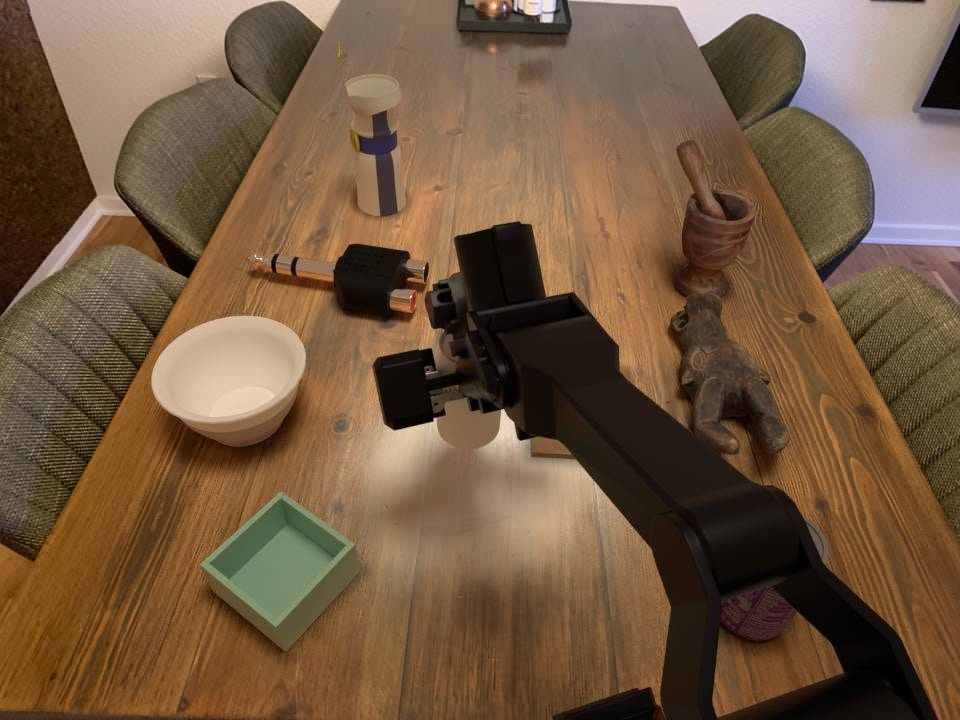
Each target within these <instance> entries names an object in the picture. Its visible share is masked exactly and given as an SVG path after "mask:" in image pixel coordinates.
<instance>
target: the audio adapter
mask: <svg viewBox="0 0 960 720" xmlns="http://www.w3.org/2000/svg"><path fill="white" fill-rule="evenodd" d="M245 261H246V262H247V263H248V264H249V265H250V266H251V267H252V268H253V269H254V270H255V271H260V270H261V269H262V268H263V267H264V268H266V270H267V271H268V272H269V273H270V274H271V273H272V274H279V275H284V276H290V277H298V278H302V279H304V278H305V279H309V280H316V281H321V282H327V283H333V288H334V290H335V293H336V301H337V304H338V305H339V306H340V308H341V309H346V310H352V311H358V312H364V313H371V314H375V315H381V316H387V317H390V316H392V315H393V314H394V312H401V313H407V314H413V313H414V311H415V309H416V306H417V298H418V297H417V296H418V294H417V290H416V289H412V288H411V289H410V288H406V286H407V284H408V282H409V283H410V282H411V283H417V284H423V285H425V284H426V283H427V281H428V279H429V274H430V262H429V261H427V260H421V259H414V258H411V254H410V251H408V250H403V249H396V248H389V247H385V246H384V247H383V246H377V245H371V244H364V243H349V244H348V245H347V247H346V249H345V251H343V254H342V255H341V256H339V257H338V259H337V260H336V262H333V261H328V260H322V259H314V258H309V257H302V256H301V257H300V256H297V255H296V256H295V255H289V254H282V253H276V252H270V253H269V254H267V256H266V255H264V253H263V251H262V250H256V251H255V252H253V253H251V254H249V255H247V256H245Z"/></svg>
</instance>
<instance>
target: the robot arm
mask: <svg viewBox="0 0 960 720" xmlns="http://www.w3.org/2000/svg"><path fill="white" fill-rule="evenodd" d="M453 242H454V243H453V244H454V247H455V253H456V257H457V263H458V268H459V271H458V272H454V273H452V274H451V275H450V276H449V277H448V278H444V279H438V281H437V282H436V283H432V290H428V291H426V292H425V294H424V306H425V309H426V312H427V317H428V321H429V324H430V327H431V328H432V330H439V329H442V330H443V331H445V334H446V335H448V334H452V337H453V341H450V342H449V345H450V350H451V355H452V357H455V356H458V359H457V364H456V373H451V374H447V375H442V376H439V372H438V371H437V370H436V365H435V354H434V350H433V348H432V347H427V348H422V349H419V348H416V349H411V350H406V351H402V352H397V353H392V354H388V355H382V356H378V357H376V358H375V360H374V361H373V363H372V364H371V369H372V373H373V378H374V383H375V387H376V388H375V389H376V392H377V397H378V402H379V406H380V407H379V408H380V411H381V417H382V421H383V425H385V426H386V427H388V428H389V429H391V430H392V431H394V432H395V431H399V430H404V429H408V428H413V427H417V426H421V425H425V424H430V423H434V422H435V419H437V417H441V416H446V413H445V408H444V404H445V403H446V402H449V401H454V400H458V399H463V398H466V399H467V403H468V408H469V411H471V412H472V411H477V410H480V412H481V413H482V414H485V413H489V412H494V411H498V410H501V411H504V412H505V414H506V416H507V417H508V419H510V420H511V421H512V422H513V424H514V429H515V434H516V435H515V436H516V438H517V440H518V441H520V442H522V441H527V440H531V438H536V437H543V438H548V439H553V440H558V441H560V442H561V443H562V444H563V445H564V446H565V447H566V448H567V449H568V451H569V452H570V453H571V454H572V455H573V456H574V458H575V459H574V460H576V462H578V464H579V465H580V466H581V468H582V469H583V470H584V471H585V472H586V473H587V474H588V476H589V478H591V479H592V481H593V482H594V483H595V484H596V485H597V486H598V488H599V489H600V490H601V491H602V493H603V494H604V495H605V496H606V497H607V498H608V500H609V501H610V502H611V503H612V504H613V506H614V507H615V508H616V509H617V510H618V511H619V512H620V514H621V515H622V516H623V517H624V518H625V520H626V521H627V522H628V524H629V525H630V526H631V527H632V528H633V529H634V531H635V532H636V533H637V534H638V535H639V537H640V538H641V539H642V540H643V541H644V542H645V544H646V545H647V546H648V547H649V549H650V550H651V552H652V556H653V560H654V563H655V566H656V569H657V572H658V575H659V578H660V580H661V583H662V586H663V590H664V592H665V595H666V597H667V600H668V603H669V606H670V612H669V620H668V628H667V634H666V635H667V636H666V643H665V651H664V657H663V658H664V659H663V667H662V672H661V673H662V674H661V680H660V681H661V682H660V688H659V689H660V690H659V698H660V705H659V704H657V703H656V698H655V695H654V692H653V688H652V687H651V686H648V687H645V688H641V689H640V688H638V687H634V688H631V689H628V690H624V691H622V692H619V693H616V694H614V695H610V696H607V697H604V698H601V699H598V700H595V701H592V702H588V703H586V704H583V705H580V706H576V707H573V708H571V709H567V710H565V711H562V712H559V713H555V714H553V715H552V716H551V717H552V720H939V718H938V717H937V714H936V712H935V710H934V707H933V705H932V704H931V701H930V698H929V697H928V695H927V692H926V690H925V688H924V686H923V684H922V681H921V679H920V676H919V675H918V673H917V670H916V668H915V666H914V664H913V662H912V660H911V658H910V654H909V652H908V650H907V648H906V646H905V645H904V642H903V639H902V638H901V637H900V635H899V634H898V633H897V631H896V630H895V628H893V626H892V625H890V624H889V623H888V622H887V621H886V620H885V619H884V618H883V617H881V615H879V614H878V613H877V612H876V611H875V610H874V609H873V608H872V607H870V605H868V603H867V602H865V601H864V600H863V599H862V598H861V597H860V596H859V595H858V594H856V592H855V591H854V590H852V589H851V588H850V587H849V586H848V585H846V583H845V582H844V581H843V580H842V579H840V578H839V577H838V576H837V575H836V574H835V573H833V571H832V570H830V569H829V568H828V567H827V566H825V565H824V563H823V561H822V559H821V557H820V554H819V552H818V550H817V548H816V545H815V543H814V541H813V538H812V536H811V534H810V531H809V529H808V527H807V525H806V522H805V520H804V518H803V516H804V515H803V514H802V513H801V511H800V509H799V508H798V507H799V506H797V504H796V502H795V501H794V500H793V499H792V498H791V497H790V496H789V495H788V494H787V492H785V490H783V489H781V488H780V487H777V486H776V485H773V484H761V483H757V482H755V481H753V480H751V479H750V478H748V477H747V476H746V475H745V474H744V473H742V472H741V471H740V470H738V468H736V467H735V466H734V465H733V464H731V463H730V462H728V460H727V459H725V458H724V457H723V456H721V455H720V453H718V452H715V451H714V450H713V449H711V448H710V447H709V446H708V445H707V444H705V443H704V442H703V441H702V440H700V439H699V438H698V437H697V436H696V435H695V433H693V432H692V431H691V430H690V429H688V428H687V427H686V426H685V425H684V424H682V423H681V422H680V421H678V420H677V419H676V418H675V417H673V415H672V414H670V413H668V411H667V410H665V409H664V408H663V407H661V406H660V405H659V404H658V403H657V402H656V401H654V400H653V399H651V398H650V397H649V396H648V395H646V393H644V392H643V391H642V390H641V389H640V388H638V387H637V386H636V385H635V384H633V382H631V381H630V382H629V381H628V380H627V379H626V378H625V376H624V375H623V374H622V373H621V372H620V367H621V366H620V363H621V362H620V345H619V344H618V342H616V341H615V339H613V337H612V336H611V335H610V334H609V333H608V332H607V331H606V330H605V328H604V327H603V326H602V325H601V323H600V322H599V321H598V320H597V319H596V316H594V315H593V314H592V312H591V311H590V310H589V309H588V307H587V306H586V305H585V304H584V303H583V301H582V300H581V299H580V297H578V295H577V294H576V293H575V292H574V291H569V292H565V293H559V294H554V295H549V296H547V294H546V289H545V284H544V279H543V275H542V269H541V264H540V257H539V254H538V249H537V243H536V238H535V234H534V229H533V224H532V223H522V222H521V220H518V221H511V222H505V223H498V224H493V225H492V226H491V227H488V228H484V229H480V230H477V231H473V232H471V233H469V232H468V233H463V234H459V235H456V236H454V238H453ZM455 385H458V386H459V387H458V391H457V389H456V388H454V391H452V389H449V393H448V391H447V390H445V393H443V391H442V388H446V387H450V386H455ZM802 515H803V516H802ZM770 586H771V587H772V588H773V589H774V590H775V591H776V592H777V593H778V594H780V595H781V596H782V597H783V598H784V599H785V600H786V601H787V602H788V603H789V604H790V605H791V606H792V607H793V608H794V609H795V610H796V611H798V612H797V613H798V614H800V615H801V617H802V618H804V619H805V620H806V621H807V622H808V623H809V624H810V625H811V626H812V627H813V628H814V629H816V631H818V632H819V634H821V635H822V636H823V637H824V638H825V639H826V640H827V641H828V642H829V643H830V644H831V646H832V648H833V650H834V652H835V654H836V657H837V660H838V662H839V665H840V666H841V669H842V671H843V672H842V673H839V674H836V675H833V676H831V677H828V678H825V679H822V680H819V681H817V682H814V683H811V684H808V685H806V686H803V687H800V688H798V689H794V690H791V691H788V692H786V693H782V694H780V695H777V696H775V697H771V698H768V699H766V700H763V701H760V702H757V703H755V704H752V705H749V706H745V707H743V708H740V709H738V710H735V711H732V712H729V713H726V714H723V715H721V716H717V713H716V711H715V707H714V704H713V699H714V690H715V689H714V688H715V677H716V669H717V668H716V667H717V658H718V649H719V639H720V628H721V622H722V621H721V611H722V603H721V602H722V601H725V600H728V599H731V598H735V597H738V596H741V595H744V594H747V593H751V592H754V591H757V590H760V589H763V588H767V587H770Z"/></svg>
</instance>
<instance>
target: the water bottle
mask: <svg viewBox="0 0 960 720" xmlns="http://www.w3.org/2000/svg"><path fill="white" fill-rule="evenodd" d="M337 55H338V69H339V70H341V68H342V67H341V66H342V62H343V61H342V45H341V42H340V41H339V42H338V54H337ZM343 88H344V90H345V92H346V94H347V95H348V98H349V99H348V100H349V102H348V103H350V107H351V109H352V111H353V118H352V121H351V123H350V128H349V139H350V140H349V141H350V144H351V148H352V150H353V159H354V171H355V180H356V197H357V207H358V209H359V210H360V211H361V212H362V213H364V214H367V215H369V216H374V217H388V216H392V215H396V214H398V213H399V212H401V211H402V210H403V209H405V206H406V205H407V199H406V198H407V197H406V190H405V189H406V188H405V182H404V181H405V180H404V172H403V171H404V170H403V169H404V168H403V158H402V151H401V147H400V145H399V143H398V131H397V130H398V129H399V127H400V121H399V120H398V118H397V117H396V115H395V109H394V108H395V107H396V106H397V105H399V104H400V102H401V101H402V99H403V94H402V93H403V92H402V89H401V86H400V82H399V81H398V80H397V79H396V78H394V77H393V76H390V75H387V74H383V73H382V74H381V73H369V74H362V75H357V76H354V77H352V78H350V79H348V80H346V81H345V83H344V85H343Z"/></svg>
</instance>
